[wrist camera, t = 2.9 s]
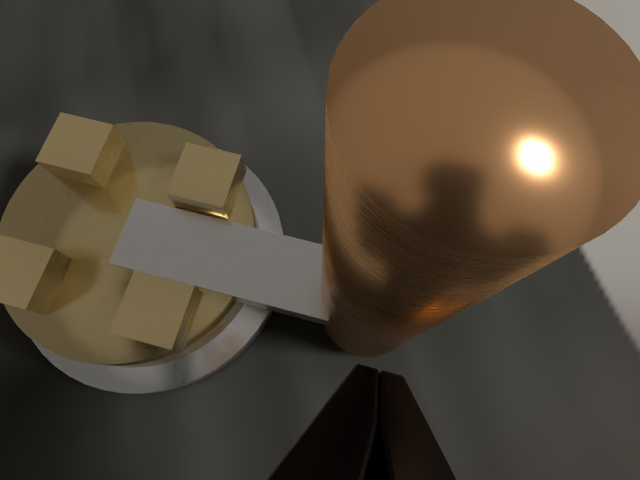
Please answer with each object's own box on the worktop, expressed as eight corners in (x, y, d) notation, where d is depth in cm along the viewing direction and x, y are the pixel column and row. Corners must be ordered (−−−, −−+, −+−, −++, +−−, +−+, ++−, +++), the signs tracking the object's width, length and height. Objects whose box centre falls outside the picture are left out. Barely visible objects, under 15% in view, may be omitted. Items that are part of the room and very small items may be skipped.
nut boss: (174, 452, 15) (164, 456, 14) (-22, 292, 17) (-42, 286, 16) (334, 231, 17) (335, 222, 17) (150, 112, 19) (141, 97, 18)
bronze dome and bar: (2, 333, 15) (-896, 174, 4) (96, 138, 18) (-293, -303, 6) (387, 442, 14) (651, 645, 3) (431, 218, 17) (666, -142, 5)
